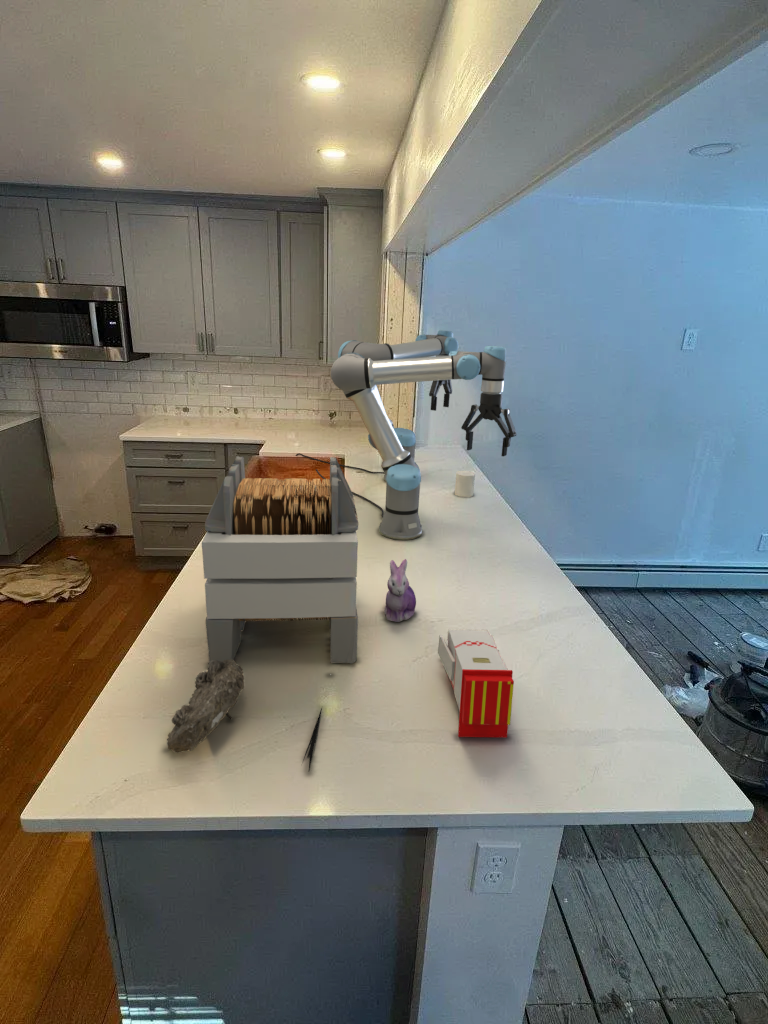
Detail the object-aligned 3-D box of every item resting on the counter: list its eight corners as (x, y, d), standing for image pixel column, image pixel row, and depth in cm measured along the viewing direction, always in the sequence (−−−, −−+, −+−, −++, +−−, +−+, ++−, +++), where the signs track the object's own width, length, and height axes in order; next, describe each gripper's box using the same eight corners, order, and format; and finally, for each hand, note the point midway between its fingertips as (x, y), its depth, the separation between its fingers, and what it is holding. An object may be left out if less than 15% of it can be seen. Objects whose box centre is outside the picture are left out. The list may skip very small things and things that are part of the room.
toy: (488, 613, 130) (523, 677, 101) (484, 667, 133) (517, 744, 104) (435, 612, 130) (455, 676, 101) (432, 666, 133) (451, 743, 103)
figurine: (392, 627, 141) (395, 572, 136) (374, 608, 149) (376, 556, 144) (425, 619, 145) (429, 566, 140) (405, 601, 154) (408, 550, 149)
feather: (331, 679, 122) (336, 673, 122) (307, 777, 96) (313, 769, 95) (324, 675, 122) (329, 669, 121) (298, 772, 95) (304, 764, 95)
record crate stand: (229, 593, 154) (221, 446, 140) (349, 591, 157) (353, 448, 144) (206, 668, 122) (192, 488, 108) (357, 664, 126) (363, 489, 112)
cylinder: (469, 498, 241) (471, 476, 238) (451, 495, 244) (453, 473, 241) (475, 493, 248) (477, 472, 245) (458, 490, 251) (460, 469, 248)
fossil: (192, 660, 117) (244, 628, 112) (224, 691, 120) (276, 661, 115) (142, 746, 98) (202, 712, 93) (182, 779, 101) (242, 748, 96)
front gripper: (530, 395, 192) (523, 456, 200) (464, 388, 206) (460, 445, 213) (521, 397, 187) (514, 460, 194) (454, 390, 200) (450, 448, 207)
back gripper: (438, 366, 260) (434, 412, 267) (461, 363, 280) (457, 406, 287) (423, 365, 264) (420, 410, 271) (447, 362, 284) (444, 404, 291)
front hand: (486, 452), depth 203 cm, fingers open, 13 cm apart
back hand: (439, 408), depth 279 cm, fingers open, 13 cm apart
